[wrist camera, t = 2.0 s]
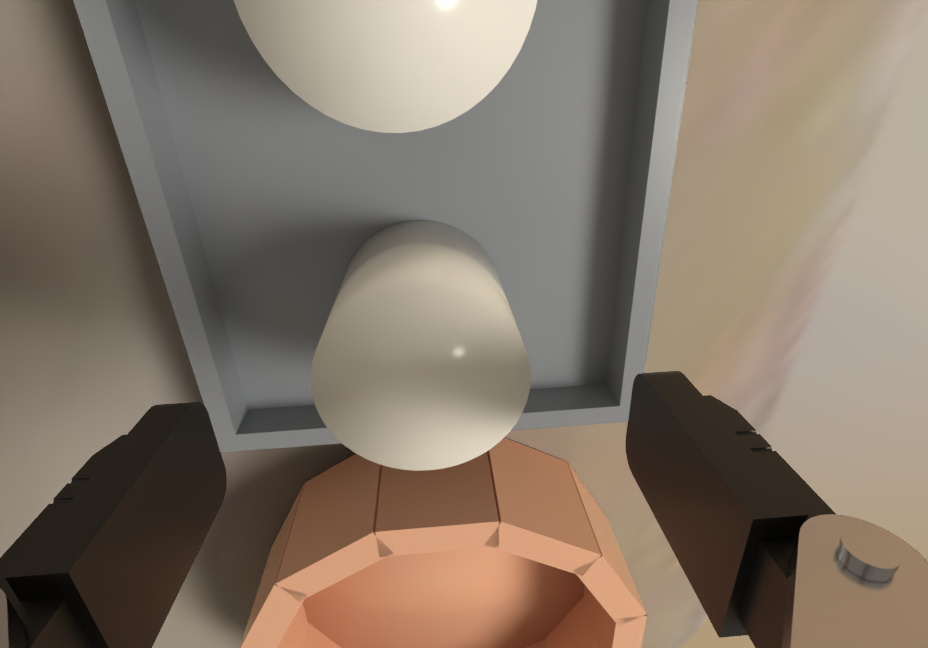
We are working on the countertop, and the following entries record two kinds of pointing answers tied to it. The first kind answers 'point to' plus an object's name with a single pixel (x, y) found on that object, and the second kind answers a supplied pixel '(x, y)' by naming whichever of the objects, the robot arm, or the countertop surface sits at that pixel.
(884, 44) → the countertop surface
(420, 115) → the cream rounded piece
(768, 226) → the countertop surface
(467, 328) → the cream rounded lump
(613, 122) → the tray
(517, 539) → the bowl
